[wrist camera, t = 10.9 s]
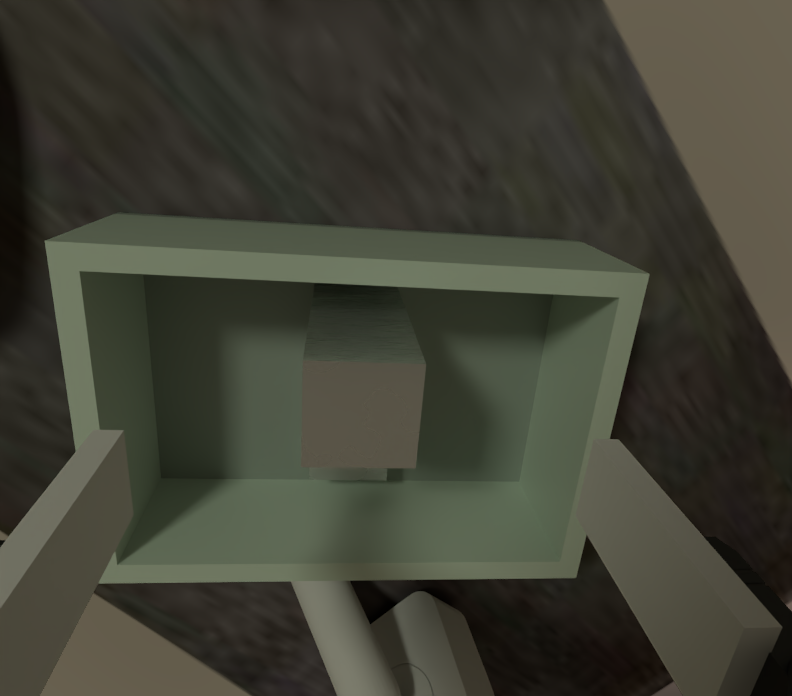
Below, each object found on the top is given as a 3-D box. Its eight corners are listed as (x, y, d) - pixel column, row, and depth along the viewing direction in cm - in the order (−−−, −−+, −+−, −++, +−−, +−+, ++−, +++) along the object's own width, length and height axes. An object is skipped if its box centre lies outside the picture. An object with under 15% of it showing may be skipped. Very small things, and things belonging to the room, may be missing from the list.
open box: (118, 212, 26) (44, 241, 19) (578, 240, 28) (649, 273, 22) (146, 488, 31) (95, 583, 25) (530, 490, 34) (576, 578, 27)
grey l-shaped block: (315, 280, 27) (302, 360, 18) (396, 285, 28) (426, 364, 18) (310, 458, 31) (298, 601, 22) (383, 459, 31) (402, 599, 22)
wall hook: (348, 512, 32) (389, 689, 24) (449, 575, 38) (511, 736, 30) (249, 591, 34) (256, 784, 25) (361, 641, 39) (396, 811, 31)
